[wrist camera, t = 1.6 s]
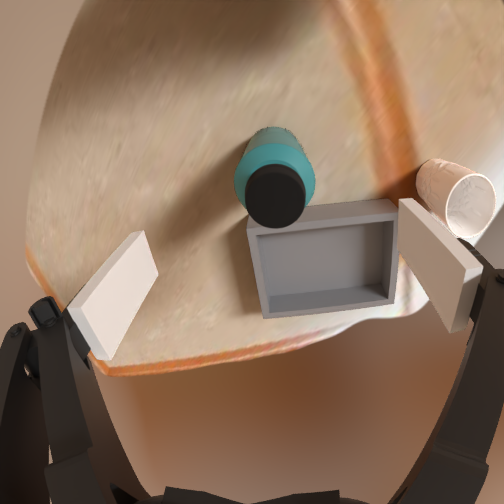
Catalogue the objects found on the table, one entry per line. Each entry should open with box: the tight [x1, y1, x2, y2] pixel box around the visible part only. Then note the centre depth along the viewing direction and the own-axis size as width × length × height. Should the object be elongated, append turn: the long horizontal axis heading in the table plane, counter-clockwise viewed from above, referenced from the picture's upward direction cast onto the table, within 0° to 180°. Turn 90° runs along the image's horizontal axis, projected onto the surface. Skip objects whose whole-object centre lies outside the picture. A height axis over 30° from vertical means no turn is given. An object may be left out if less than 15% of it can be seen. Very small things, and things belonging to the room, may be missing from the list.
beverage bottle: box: [234, 127, 315, 229], centre depth 28 cm, size 6×7×20 cm
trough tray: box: [246, 199, 399, 319], centre depth 40 cm, size 14×19×5 cm
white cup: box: [416, 158, 496, 238], centre depth 32 cm, size 8×8×10 cm
